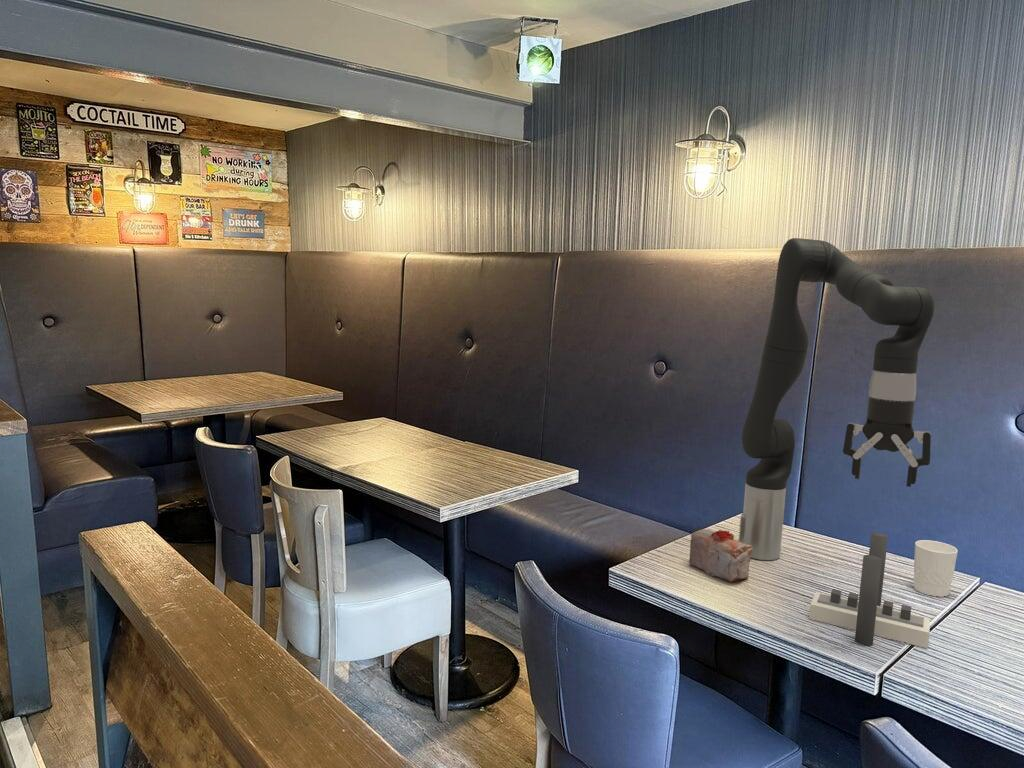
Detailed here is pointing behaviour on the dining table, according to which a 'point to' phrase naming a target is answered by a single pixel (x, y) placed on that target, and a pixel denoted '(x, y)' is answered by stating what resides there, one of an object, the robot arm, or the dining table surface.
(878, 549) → the dark grey cylinder rod
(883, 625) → the breaker panel
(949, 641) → the dining table surface
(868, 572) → the dark grey post
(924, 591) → the white cup
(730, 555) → the food item
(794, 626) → the dining table surface
